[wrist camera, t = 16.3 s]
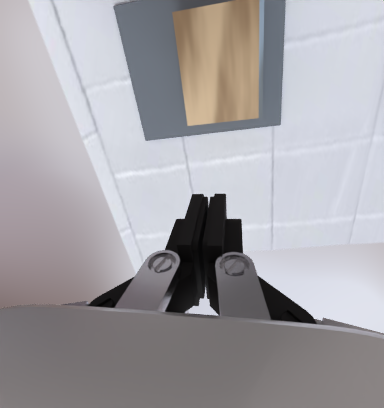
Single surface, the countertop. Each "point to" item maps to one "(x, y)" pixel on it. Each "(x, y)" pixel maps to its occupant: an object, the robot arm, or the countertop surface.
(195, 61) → the oak slab
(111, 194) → the countertop surface
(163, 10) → the mat
